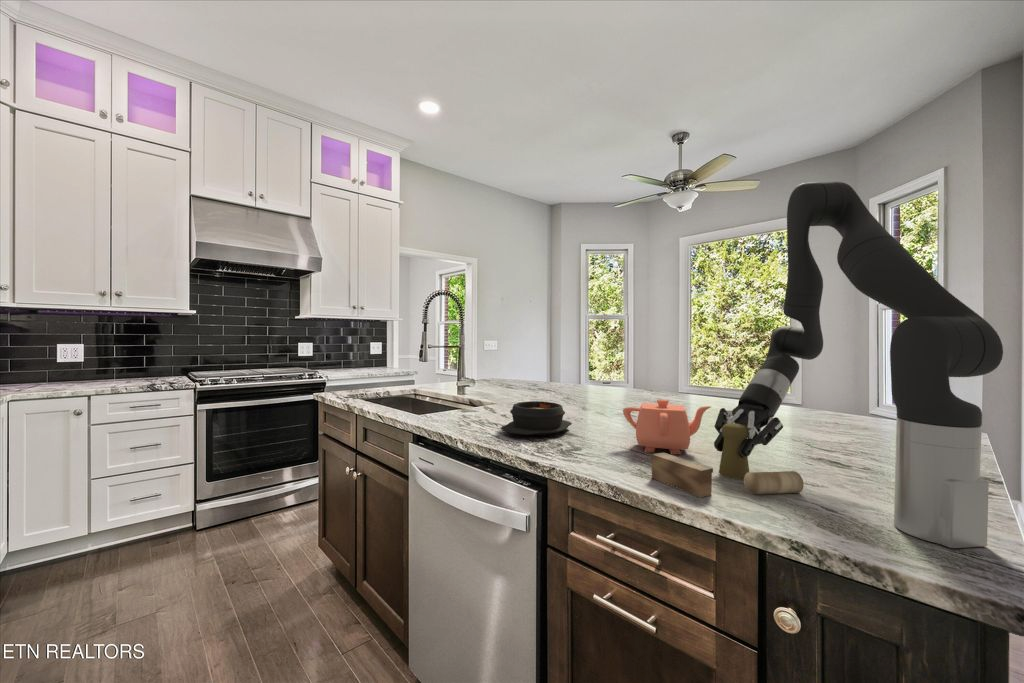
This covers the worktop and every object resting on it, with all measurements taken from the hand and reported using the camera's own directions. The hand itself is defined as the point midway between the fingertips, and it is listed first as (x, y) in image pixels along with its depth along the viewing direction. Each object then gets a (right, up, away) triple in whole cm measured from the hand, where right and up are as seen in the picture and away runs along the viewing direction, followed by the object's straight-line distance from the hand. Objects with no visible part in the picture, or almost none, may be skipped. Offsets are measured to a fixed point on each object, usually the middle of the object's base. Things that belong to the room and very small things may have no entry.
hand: (729, 452), depth 92 cm
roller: (+4, -4, -11) cm, 12 cm away
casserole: (-39, -4, +40) cm, 56 cm away
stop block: (-13, -5, -7) cm, 16 cm away
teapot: (-6, -5, +21) cm, 23 cm away
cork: (+2, -5, +1) cm, 6 cm away
